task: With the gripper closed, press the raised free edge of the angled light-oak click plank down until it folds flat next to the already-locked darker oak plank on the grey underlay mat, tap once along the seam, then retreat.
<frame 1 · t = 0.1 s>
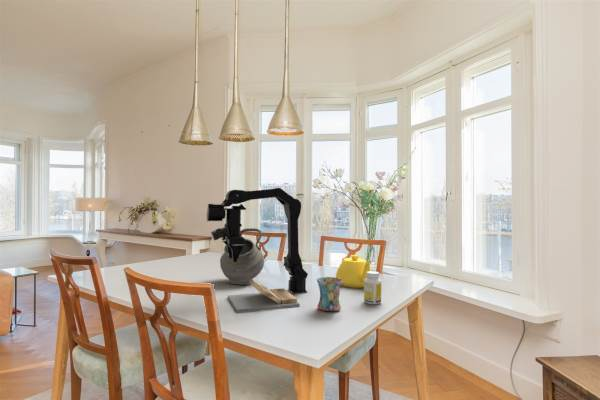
hand: (232, 260, 138), 15 cm above the table, fingers open, 9 cm apart
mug: (330, 310, 123), on the table
click plank: (264, 290, 132), point 4 cm above the table, hinge at 32.0°
locked plank: (282, 300, 134), resting on underlay
teapot: (355, 285, 163), on the table
pill bottle: (372, 302, 134), on the table
pot: (242, 282, 164), on the table
underlay: (262, 302, 132), on the table
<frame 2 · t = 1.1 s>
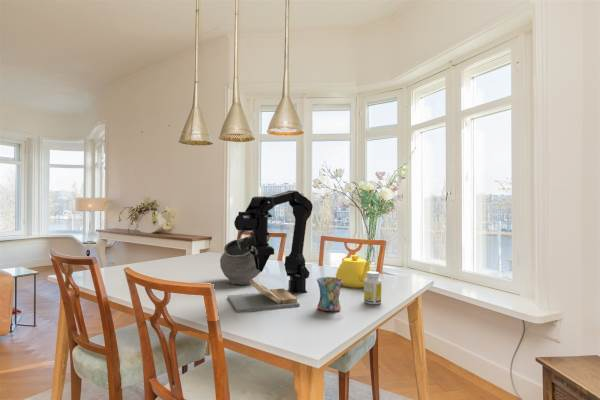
hand: (259, 270, 131), 12 cm above the table, fingers open, 4 cm apart
nothing on the table moved.
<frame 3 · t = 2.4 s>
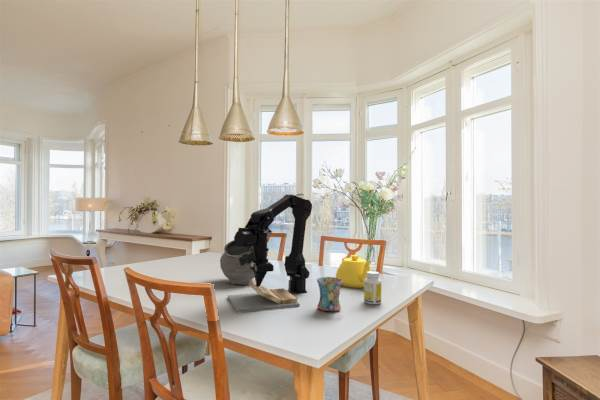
hand: (258, 286, 131), 6 cm above the table, fingers closed, pressing on click plank
click plank: (264, 291, 132), point 4 cm above the table, hinge at 27.0°, touching gripper
everything else where it was.
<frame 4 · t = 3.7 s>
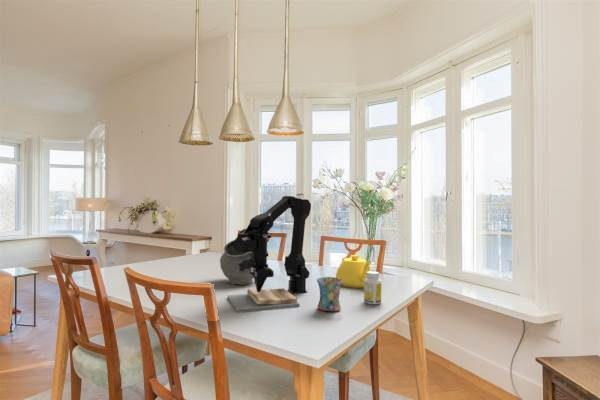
hand: (258, 291, 131), 4 cm above the table, fingers closed
click plank: (263, 296, 132), point 2 cm above the table, hinge at 4.4°
everything else where it was.
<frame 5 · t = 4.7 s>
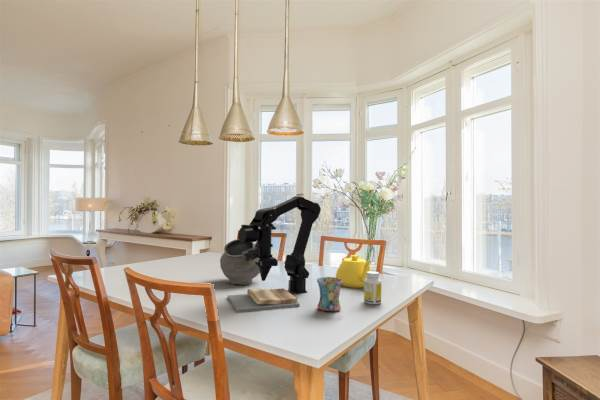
hand: (263, 280, 137), 7 cm above the table, fingers closed
nothing on the table moved.
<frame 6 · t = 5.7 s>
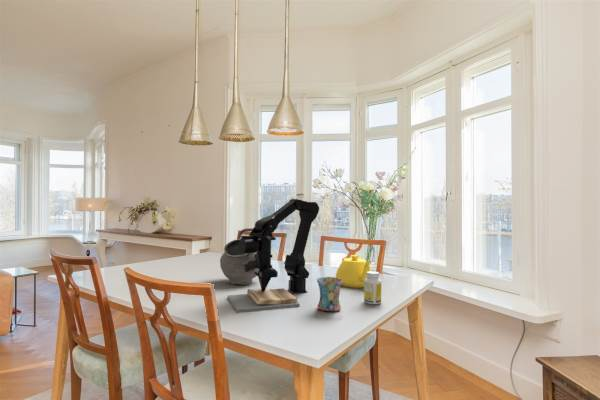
hand: (263, 291, 137), 3 cm above the table, fingers closed, pressing on click plank
click plank: (263, 296, 132), point 2 cm above the table, hinge at 4.4°, touching gripper
everything else where it was.
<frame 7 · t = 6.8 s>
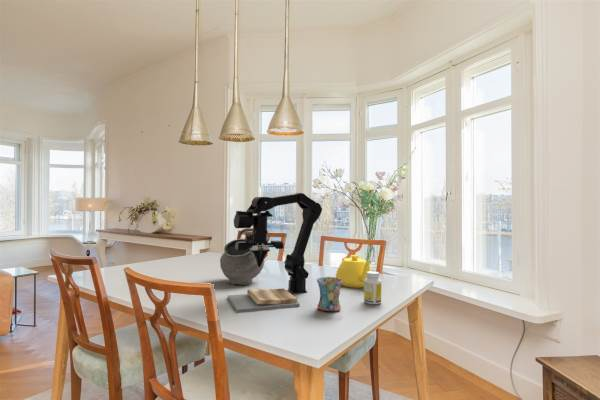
hand: (259, 266, 139), 12 cm above the table, fingers closed
click plank: (263, 296, 132), point 2 cm above the table, hinge at 4.4°
everything else where it was.
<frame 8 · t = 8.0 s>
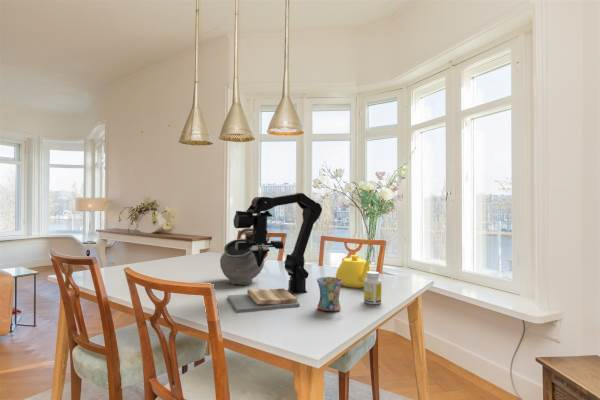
hand: (259, 266, 139), 12 cm above the table, fingers closed
nothing on the table moved.
at the end: click plank at +4° (first picture: +32°) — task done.
